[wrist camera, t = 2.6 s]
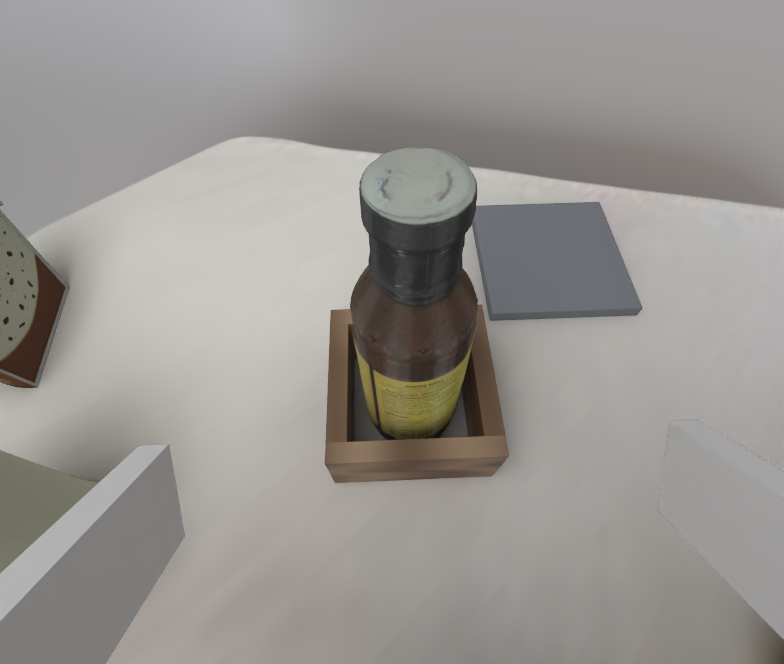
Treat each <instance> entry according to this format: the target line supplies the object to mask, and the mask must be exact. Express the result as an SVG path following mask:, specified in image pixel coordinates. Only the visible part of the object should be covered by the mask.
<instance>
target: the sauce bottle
mask: <svg viewBox="0 0 784 664" xmlns="http://www.w3.org/2000/svg"><path fill="white" fill-rule="evenodd" d="M359 190H360V205H361V217H362V222H363V225H364V227H365V229H366V231H367V232H368V233H369V245H370V255H369V265H368V266H367V268H366V269H365V270H364V272H363V273H362V275H361V276H360V278H359V279H358V281H357V283H356V285H355V287H354V290H353V293H352V296H351V304H350V308H351V316H352V321H353V326H354V327H353V336H354V343H355V348H356V353H357V358H358V364H359V369H360V375H361V380H362V385H363V390H364V395H365V400H366V405H367V409H368V412H369V414H370V416H371V418H372V421H373V423H374V424H375V426H376V428H377V429H378V431H379V432H380V433H381V434H382V436H384V437H385V438H387V439H388V440H405V439H430V438H436V437H438V436H439V435H440V434H441V433H442V432H443V431H444V430H445V429H446V427H447V425H448V424H449V422H450V419H451V417H452V416H453V414H454V411H455V409H456V405H457V401H458V398H459V395H460V391H461V387H462V383H463V380H464V376H465V372H466V368H467V364H468V360H469V356H470V352H471V347H472V343H473V340H474V335H475V330H476V322H477V309H478V306H477V302H478V300H477V297H476V293H475V291H474V287H473V285H472V282H471V280H470V278H469V277H468V275H467V273H466V272H465V271H464V270H463V269H462V251H463V247H464V240H465V233H466V232H467V231H468V229H469V228H470V227H471V225H472V221H473V218H474V216H475V212H476V200H477V183H476V179H475V177H474V175H473V174H472V172H471V170H470V169H469V167H468V166H467V165H466V164H465V163H464V162H463V161H462V160H461V159H460V158H458V157H456V156H455V155H453V154H451V153H448V152H446V151H443V150H439V149H435V148H417V147H406V148H401V149H397V150H394V151H390V152H388V153H386V154H384V155H381V156H380V157H379V158H377V159H376V160H375V161H373V162H372V163H371V164H370V165H369V166H368V167H367V168H366V170H365V171H364V173H363V174H362V178H361V181H360V188H359Z"/></svg>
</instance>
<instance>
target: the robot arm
mask: <svg viewBox="0 0 784 664" xmlns="http://www.w3.org/2000/svg"><path fill="white" fill-rule="evenodd" d="M658 512H659V513H660V514H661V515H662V516H663V517H664V518H665V519H666V520H667V521H668V522H669V523H670V524H671V525H672V526H673V527H674V528H675V529H676V530H677V532H678V533H679V534H680V535H681V536H682V537H683V538H684V539H685V540H686V541H687V542H688V543H689V544H690V545H691V546H692V547H693V548H694V549H695V550H696V551H697V552H698V553H699V554H700V555H701V556H702V557H703V558H704V559H705V560H706V561H707V562H708V563H709V564H710V565H711V566H712V567H713V568H714V569H715V570H716V571H717V572H718V573H719V574H720V575H721V576H722V577H723V578H724V579H725V580H726V581H727V582H728V584H729V585H730V586H731V587H732V588H733V589H734V590H735V591H736V592H737V593H738V594H739V595H740V596H741V597H742V598H743V599H744V600H745V601H746V602H747V603H748V604H749V605H750V606H751V607H752V608H753V609H754V610H755V611H756V612H757V613H758V614H759V615H760V616H761V617H762V618H763V619H764V620H765V621H766V622H767V623H768V624H769V625H770V626H771V627H772V628H773V629H774V630H775V631H776V632H777V633H778V635H779V636H780V637H781V638H782V639H783V640H784V471H782V470H780V469H779V468H777V467H776V466H774V465H772V464H771V463H769V462H767V461H766V460H764V459H762V458H761V457H759V456H757V455H756V454H754V453H752V452H751V451H749V450H747V449H746V448H744V447H742V446H741V445H739V444H738V443H736V442H734V441H733V440H731V439H729V438H728V437H726V436H724V435H723V434H721V433H719V432H718V431H716V430H714V429H713V428H711V427H709V426H708V425H706V424H705V423H703V422H701V421H700V420H677V421H669V429H668V437H667V444H666V452H665V460H664V467H663V475H662V483H661V490H660V498H659V506H658ZM184 536H185V533H184V528H183V522H182V516H181V510H180V505H179V499H178V493H177V487H176V482H175V476H174V470H173V464H172V459H171V453H170V447H169V444H162V445H140V446H138V447H137V448H136V449H135V450H134V451H133V452H131V453H130V454H129V455H128V456H127V457H126V458H125V459H124V460H123V461H122V462H121V463H119V464H118V465H117V466H116V467H115V468H114V469H113V470H112V471H111V472H110V473H109V474H108V475H106V476H105V477H104V478H103V479H102V480H101V481H100V482H99V483H98V484H97V485H96V486H95V487H93V488H92V489H91V490H90V491H89V492H88V493H87V494H86V495H85V496H84V497H83V498H82V499H80V500H79V501H78V502H77V503H76V504H75V505H74V506H73V507H72V508H71V509H70V510H69V511H67V512H66V513H65V514H64V515H63V516H62V517H61V518H60V519H59V520H58V521H57V522H56V523H54V524H53V525H52V526H51V527H50V528H49V529H48V530H47V531H46V532H45V533H44V534H43V535H41V536H40V537H39V538H38V539H37V540H36V541H35V542H34V543H33V544H32V545H31V546H30V547H28V548H27V549H26V550H25V551H24V552H23V553H22V554H21V555H20V556H19V557H18V558H17V559H15V560H14V561H13V562H12V563H11V564H10V565H9V566H8V567H7V568H6V569H5V570H4V571H2V572H1V573H0V664H106V662H107V661H108V659H109V657H110V656H111V654H112V653H113V651H114V649H115V648H116V646H117V644H118V643H119V641H120V640H121V638H122V636H123V635H124V633H125V632H126V630H127V628H128V627H129V625H130V623H131V622H132V620H133V619H134V617H135V615H136V614H137V612H138V611H139V609H140V607H141V606H142V604H143V603H144V601H145V599H146V598H147V596H148V594H149V593H150V591H151V590H152V588H153V586H154V585H155V583H156V582H157V580H158V578H159V577H160V575H161V574H162V572H163V570H164V569H165V567H166V565H167V564H168V562H169V561H170V559H171V557H172V556H173V554H174V553H175V551H176V549H177V548H178V546H179V545H180V543H181V541H182V540H183V538H184Z"/></svg>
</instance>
